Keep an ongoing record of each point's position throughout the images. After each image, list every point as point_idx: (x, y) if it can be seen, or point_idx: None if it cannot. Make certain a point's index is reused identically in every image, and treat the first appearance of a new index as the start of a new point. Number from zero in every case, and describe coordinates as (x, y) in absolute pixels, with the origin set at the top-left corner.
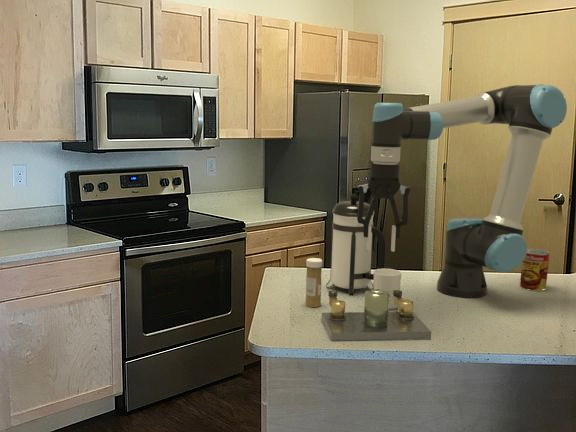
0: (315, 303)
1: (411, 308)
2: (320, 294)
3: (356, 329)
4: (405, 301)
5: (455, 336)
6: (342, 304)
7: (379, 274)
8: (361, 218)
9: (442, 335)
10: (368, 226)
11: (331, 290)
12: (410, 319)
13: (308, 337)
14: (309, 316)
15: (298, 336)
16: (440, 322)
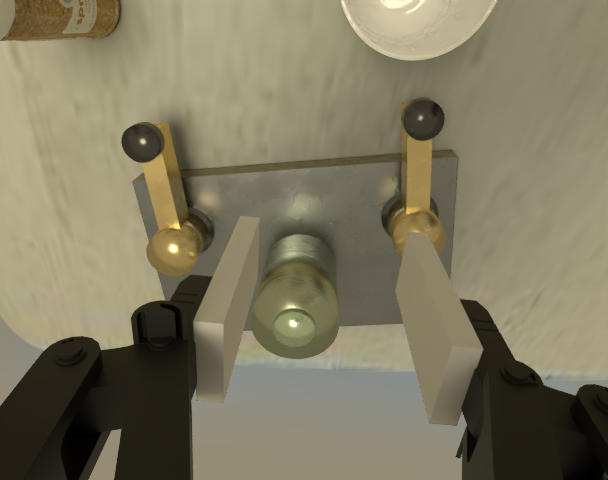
0: (95, 35)
1: None
2: (96, 17)
3: None
4: None
5: (521, 288)
6: (185, 273)
7: (359, 34)
8: (88, 457)
9: (487, 282)
10: (196, 385)
11: (132, 126)
12: None
13: (123, 302)
14: (98, 141)
15: (97, 296)
16: (535, 179)
